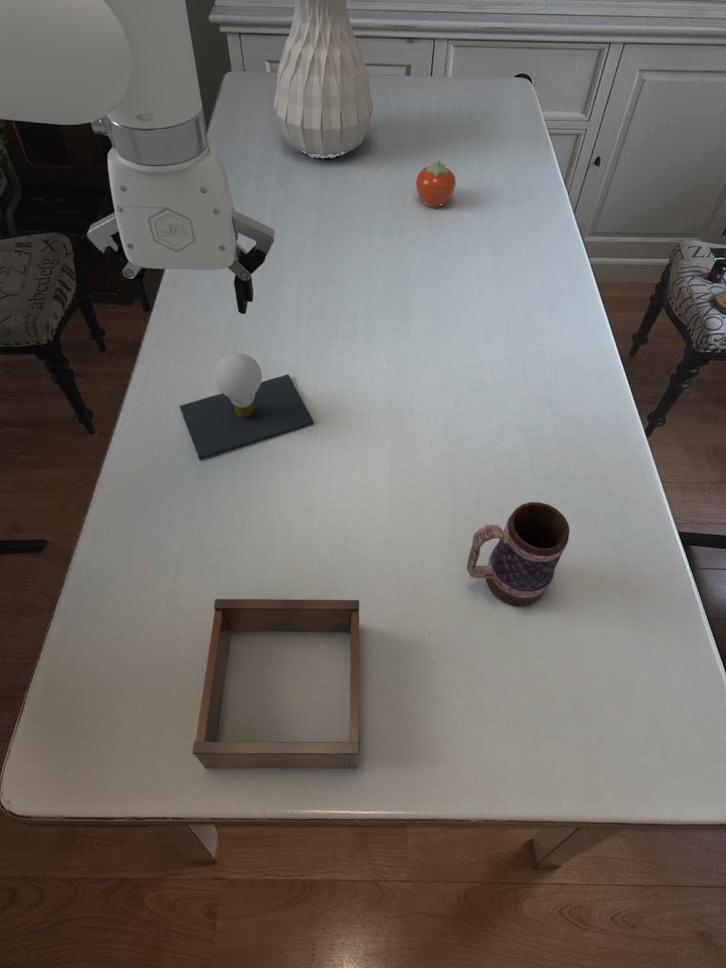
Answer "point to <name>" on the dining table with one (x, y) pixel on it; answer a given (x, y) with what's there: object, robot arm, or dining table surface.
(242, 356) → the light bulb
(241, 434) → the mat
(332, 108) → the vase
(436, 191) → the tomato
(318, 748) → the brown wooden square frame
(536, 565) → the mug
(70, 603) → the dining table surface
